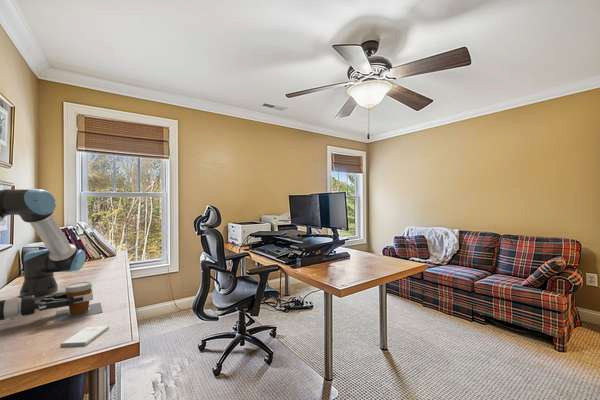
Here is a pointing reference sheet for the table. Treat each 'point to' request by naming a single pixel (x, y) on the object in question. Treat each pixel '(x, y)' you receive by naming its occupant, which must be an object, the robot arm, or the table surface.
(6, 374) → the table surface
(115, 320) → the table surface
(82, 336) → the external hard drive
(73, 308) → the disposable coffee cup
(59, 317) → the tile
